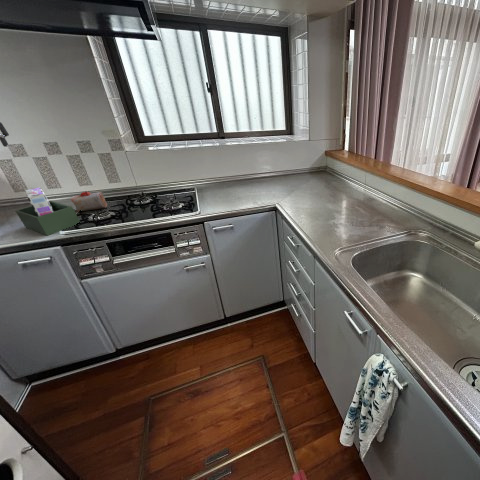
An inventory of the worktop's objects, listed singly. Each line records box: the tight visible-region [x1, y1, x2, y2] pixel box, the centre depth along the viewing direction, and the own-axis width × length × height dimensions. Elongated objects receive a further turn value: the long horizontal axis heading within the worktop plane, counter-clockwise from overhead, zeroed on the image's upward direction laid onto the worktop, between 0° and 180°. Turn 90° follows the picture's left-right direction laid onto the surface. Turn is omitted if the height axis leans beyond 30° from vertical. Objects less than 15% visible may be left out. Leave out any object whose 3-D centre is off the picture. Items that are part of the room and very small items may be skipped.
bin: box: [14, 200, 81, 237], centre depth 128 cm, size 20×14×9 cm
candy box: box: [23, 187, 54, 217], centre depth 125 cm, size 14×6×16 cm, turn 47°
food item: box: [70, 190, 108, 213], centre depth 145 cm, size 14×8×10 cm, turn 115°
